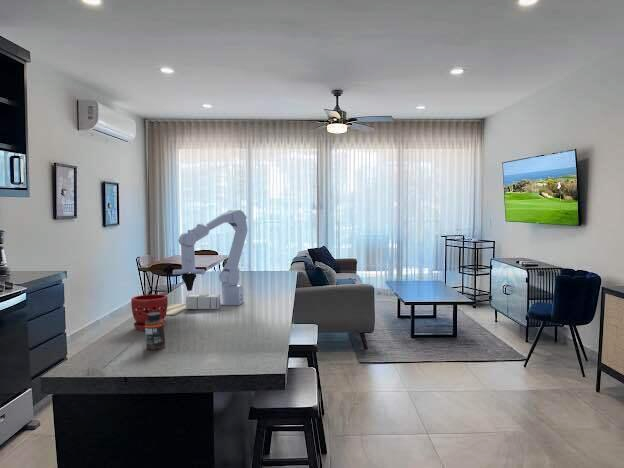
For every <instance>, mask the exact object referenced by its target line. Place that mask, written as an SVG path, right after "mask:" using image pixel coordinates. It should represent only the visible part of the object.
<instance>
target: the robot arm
mask: <svg viewBox="0 0 624 468" xmlns="http://www.w3.org/2000/svg"><path fill="white" fill-rule="evenodd" d="M225 223H227V224H228V225H230V226H231V227H232V228H233V229H234V236H233V239H232V242H231V246H230V250H229V254H228V257H227V262H226V264H225V265H224V266H223V267H222V270H221V272H220V273H219V276H218V278H219V281H220V282H221V293H222V294H221V295H222V297H221V298H222V302H220V306H240V305H241V304H243V303H244V302H245V300H244V287H243V285H242V284H238V283H239V281H240V272H241V271H240V268H239V263H240V260H241V256H242V253H243V249H244V245H245V241H246V238H247V234H248V225H247V215H246V214H245V212H244V211H243V210H241V209H237V210H234V209H233V210H231V209H230V210H227V211H225V212H223V213H221V214H219V215H218V216H216V217H215V218H213V219H212V220H210V221H209V222H207V223H206V224H205V223H201V224H200V223H198V224H196V226H195V227H193V228H192V229H188V230H187V232H183V233H181V234H180V236H179V238H178V240H177V241H178V243H179V244H180V253H181V254H180V255H181V257H180V258H181V268H180V269H173V270H172V275H173V276H174V275H181V280H183V282H184V285H185V287H186V290H187V292H191V291H193V286H194V283H195V279H196V278H197V275H205V274H206V269H198V268H196V256H195V245H196V243H197V242H198V241H200V240H201V239H204V238H205V237H207V236H208V235H209V233H210V231H211V230H214V229H215V228H217V227H219V226H221V225H223V224H225Z"/></svg>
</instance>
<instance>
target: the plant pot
mask: <svg viewBox="0 0 624 468" xmlns="http://www.w3.org/2000/svg"><path fill="white" fill-rule="evenodd" d="M130 301H131V302H130V303H131V304H130V305H131V311H132V312H131V313H132V316H133V319H134V320H135V322H134V323H133V327H134V328H136V329H137V330H140V331H145V322H146V321H147V319H148V318H147V314H149V313H153V312H159V313H160V318H161V319H163V320H164V325H165V324H166V320H165V318H166V312H167V306H168V305H169V302H168V295H166V294H156V293H155V294H142V295H137V296H134V297H131V300H130Z"/></svg>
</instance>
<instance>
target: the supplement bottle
mask: <svg viewBox="0 0 624 468" xmlns="http://www.w3.org/2000/svg"><path fill="white" fill-rule="evenodd" d="M147 318H148V319H147V321H146V322H145V330H144V331H145V344H146V349H147V350H150V351H155V350H161V349H163V348H165V347H166V336H165V335H166V333H165V324H164V320H165V319H164V320H163V319H161V318H160V313H159V312H153V313H149V314H147Z"/></svg>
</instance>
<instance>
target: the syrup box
mask: <svg viewBox="0 0 624 468" xmlns="http://www.w3.org/2000/svg"><path fill="white" fill-rule="evenodd" d="M185 304H186V309H187V310H219V309H220V307H221V305H220V304H221V294H198V293H197V294H190V293H189V294H188V295H187V296H186V297H185Z"/></svg>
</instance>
